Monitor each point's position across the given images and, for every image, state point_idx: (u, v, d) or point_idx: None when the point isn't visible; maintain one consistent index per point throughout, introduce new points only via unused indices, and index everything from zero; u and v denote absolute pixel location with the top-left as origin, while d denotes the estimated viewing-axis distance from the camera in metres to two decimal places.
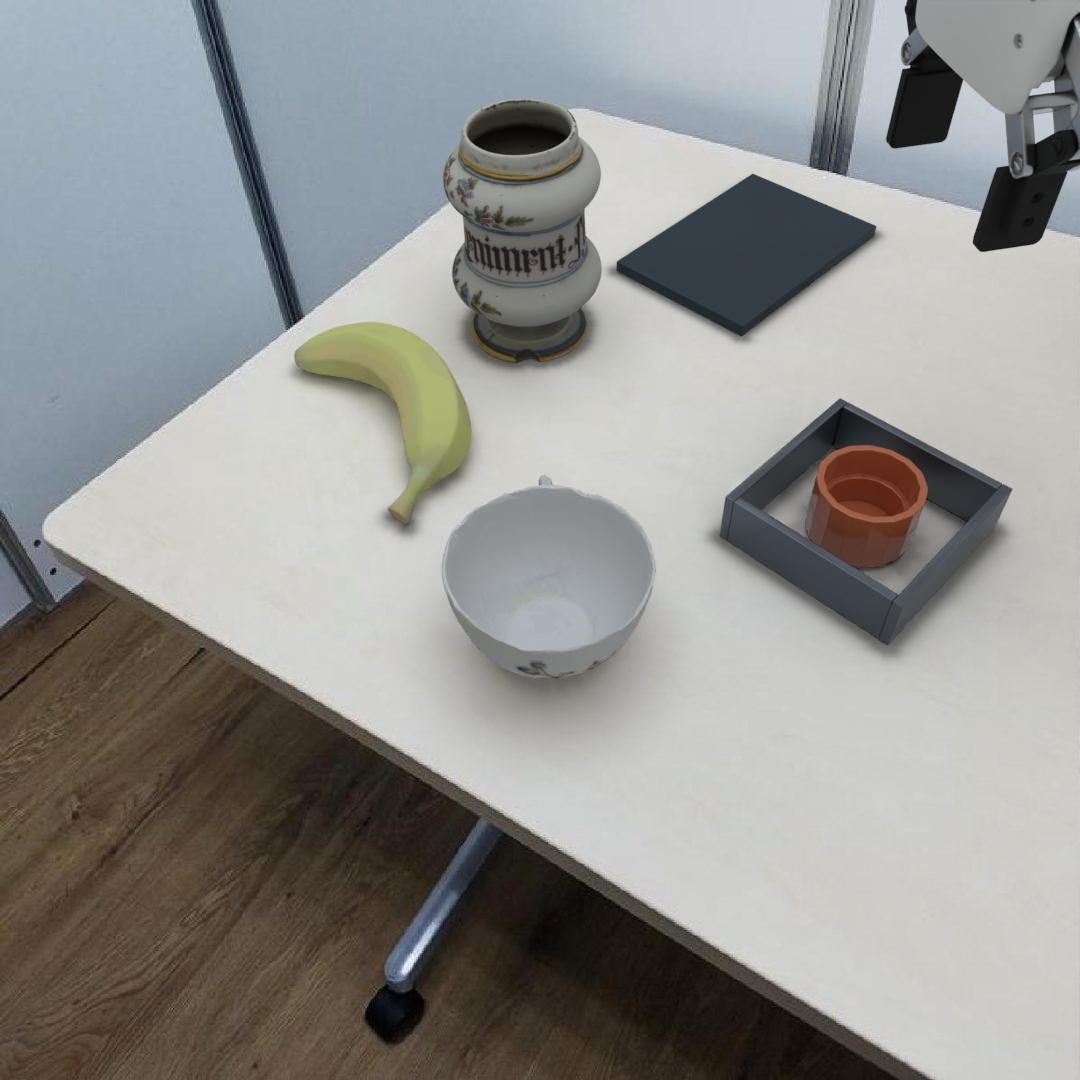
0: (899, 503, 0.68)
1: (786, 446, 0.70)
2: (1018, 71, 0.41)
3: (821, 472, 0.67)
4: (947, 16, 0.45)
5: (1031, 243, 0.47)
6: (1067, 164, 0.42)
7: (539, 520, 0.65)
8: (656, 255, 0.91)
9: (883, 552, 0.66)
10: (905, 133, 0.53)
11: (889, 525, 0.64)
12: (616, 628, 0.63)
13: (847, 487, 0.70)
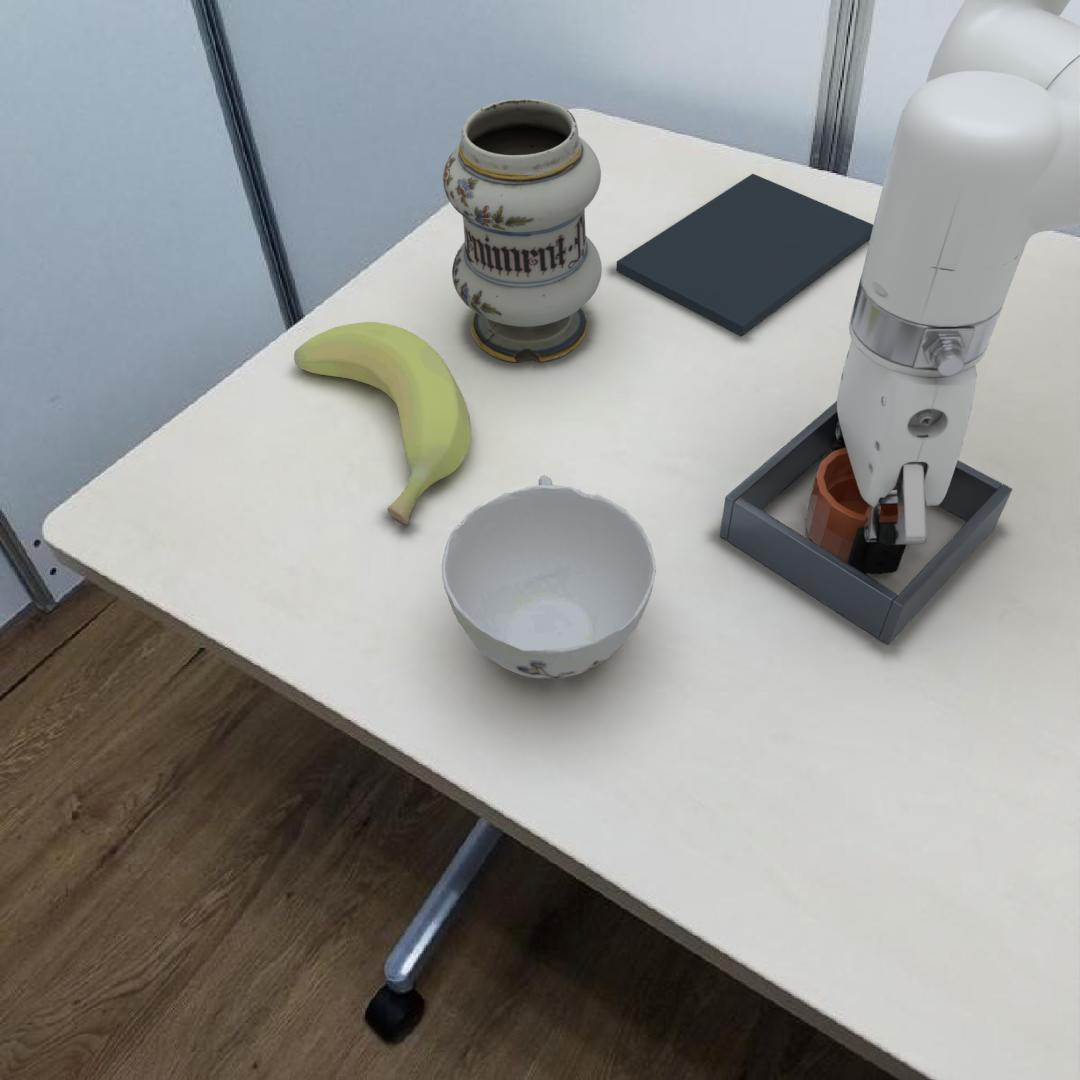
0: None
1: (786, 446, 0.70)
2: (871, 485, 0.60)
3: (821, 472, 0.67)
4: (846, 420, 0.64)
5: (889, 572, 0.67)
6: None
7: (539, 520, 0.65)
8: (656, 255, 0.91)
9: None
10: None
11: None
12: (616, 628, 0.63)
13: (847, 487, 0.70)
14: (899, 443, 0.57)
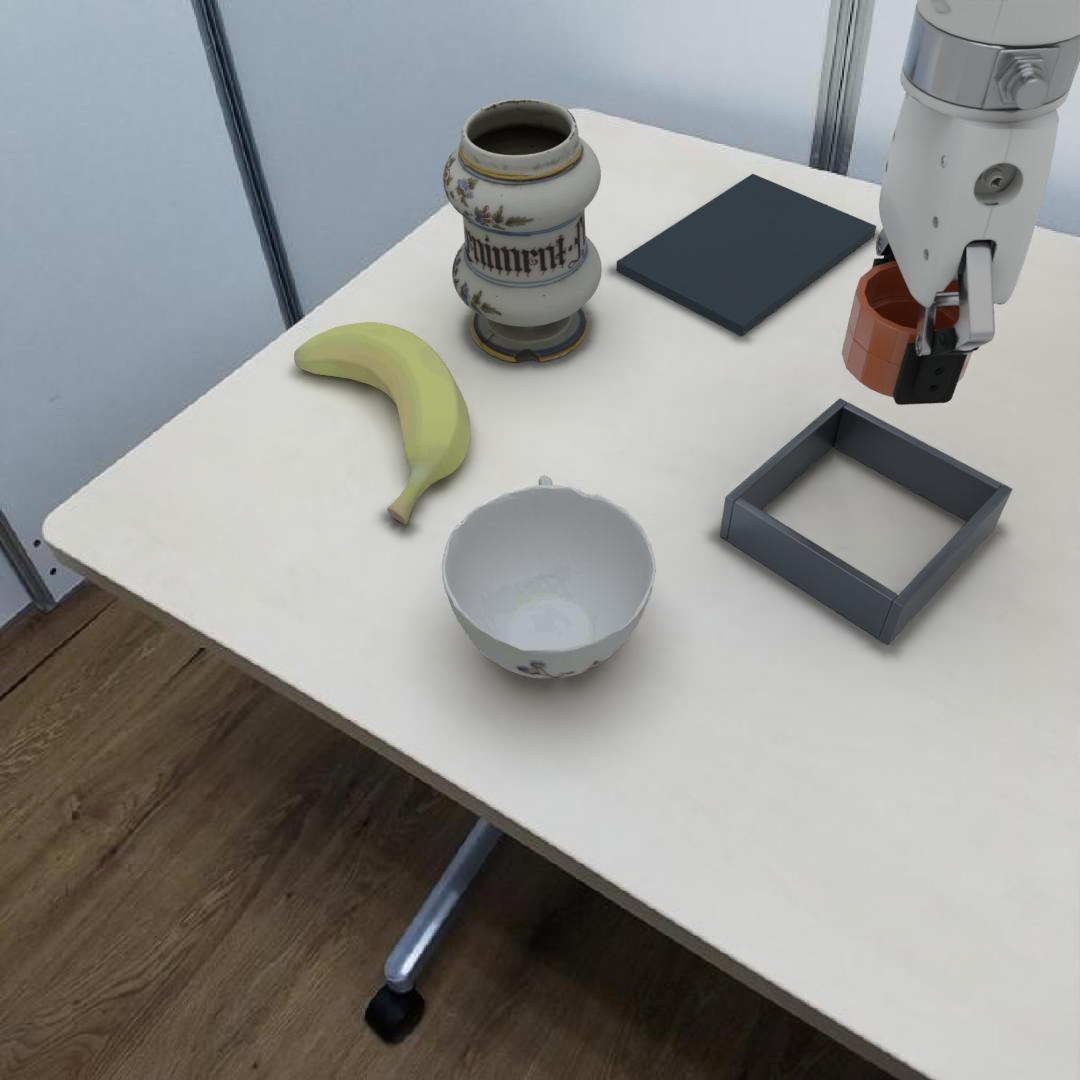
0: (952, 326, 0.59)
1: (786, 446, 0.70)
2: (926, 277, 0.50)
3: (861, 287, 0.57)
4: (892, 215, 0.54)
5: (943, 401, 0.57)
6: (954, 352, 0.52)
7: (539, 520, 0.65)
8: (656, 255, 0.91)
9: None
10: None
11: None
12: (616, 628, 0.63)
13: (889, 314, 0.61)
14: (963, 214, 0.47)
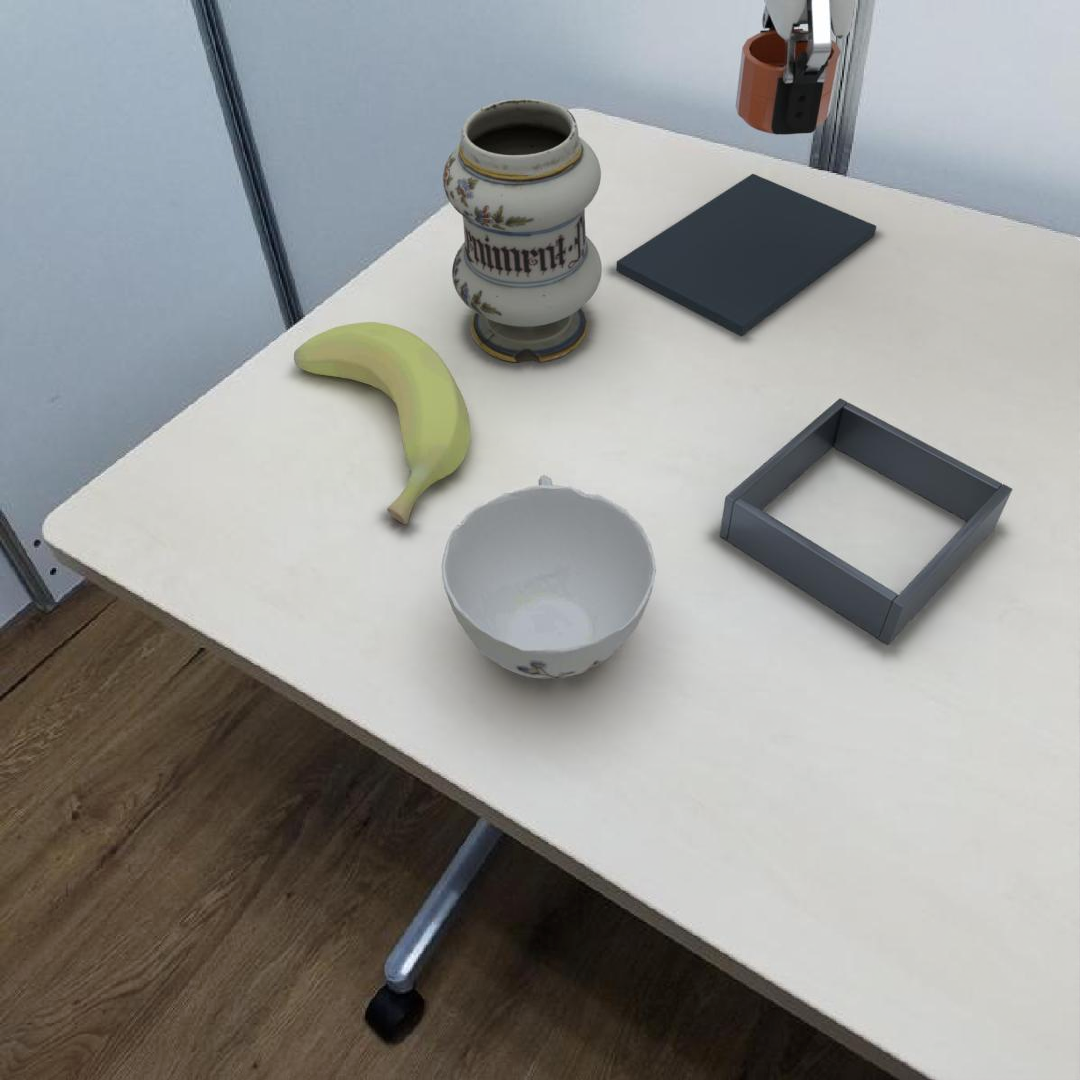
0: None
1: (786, 446, 0.70)
2: (784, 12, 0.68)
3: (747, 45, 0.75)
4: None
5: (809, 132, 0.75)
6: (809, 75, 0.70)
7: (539, 520, 0.65)
8: (656, 255, 0.91)
9: None
10: None
11: None
12: (616, 628, 0.63)
13: None
14: None
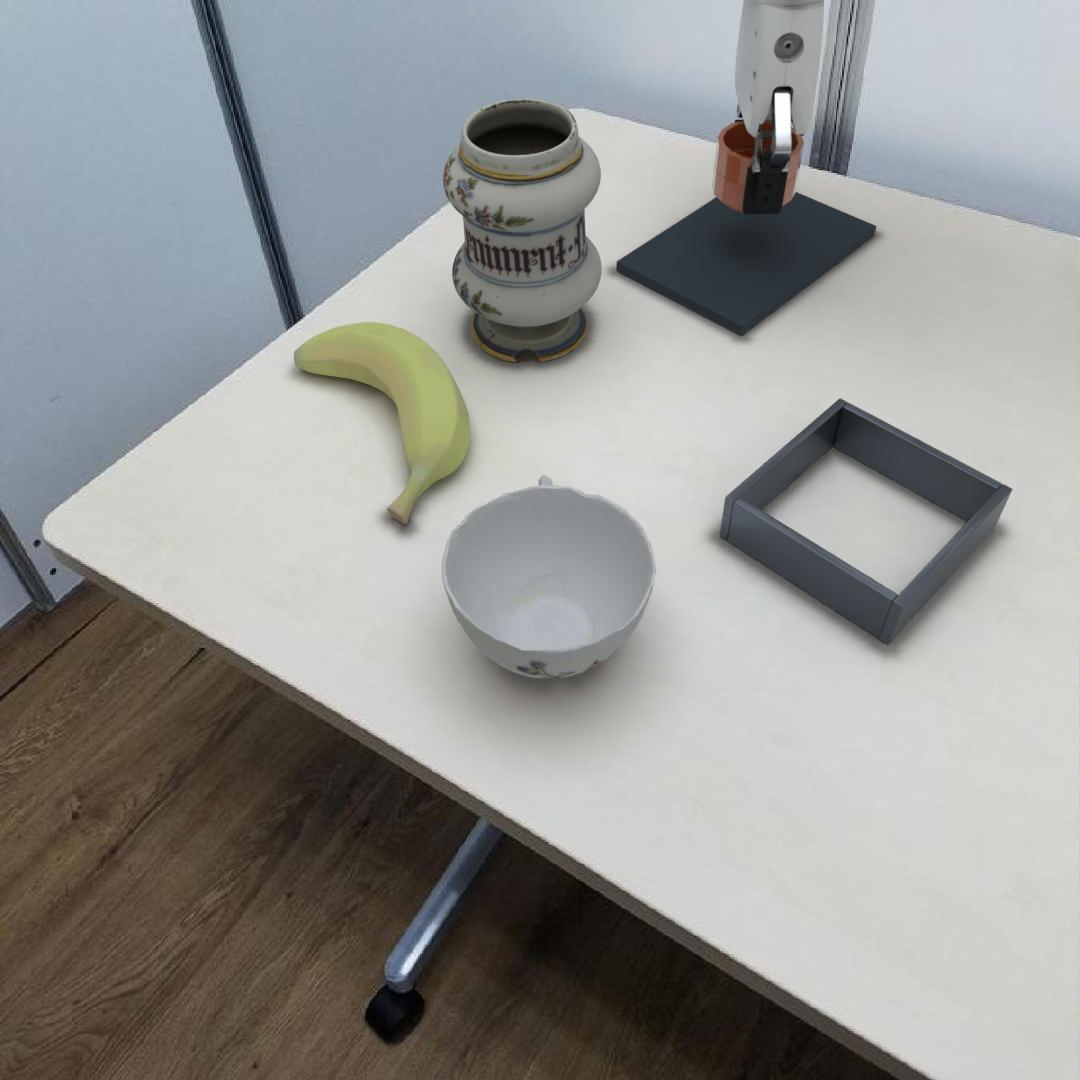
0: None
1: (786, 446, 0.70)
2: (752, 114, 0.78)
3: (721, 134, 0.85)
4: (738, 80, 0.82)
5: (776, 213, 0.85)
6: (774, 168, 0.80)
7: (539, 520, 0.65)
8: (656, 255, 0.91)
9: None
10: None
11: None
12: (616, 628, 0.63)
13: None
14: (769, 67, 0.75)
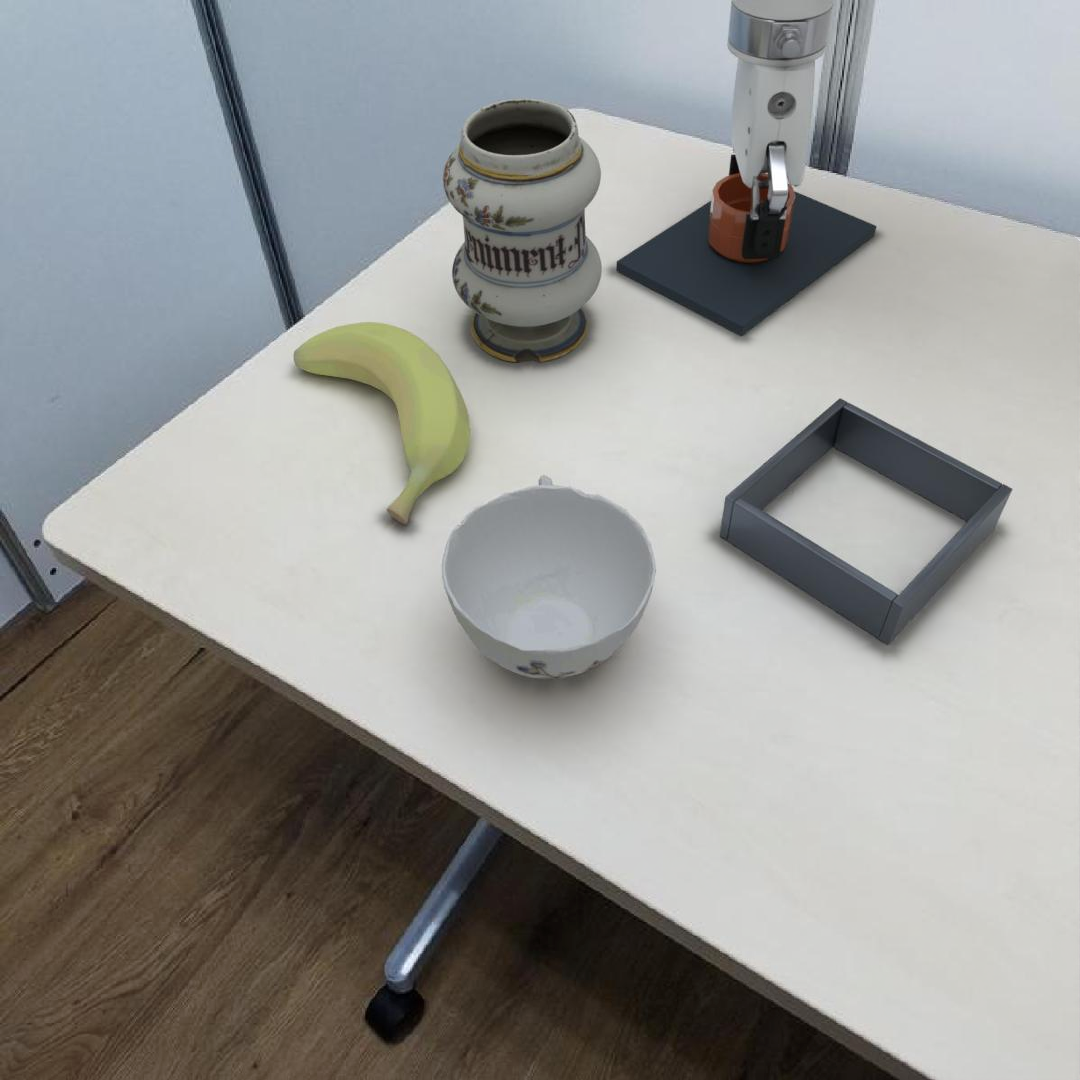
0: None
1: (786, 446, 0.70)
2: (747, 167, 0.81)
3: (716, 188, 0.88)
4: (734, 132, 0.85)
5: (774, 257, 0.87)
6: (771, 216, 0.82)
7: (539, 520, 0.65)
8: (656, 255, 0.91)
9: None
10: None
11: None
12: (616, 628, 0.63)
13: (740, 210, 0.92)
14: (763, 124, 0.78)
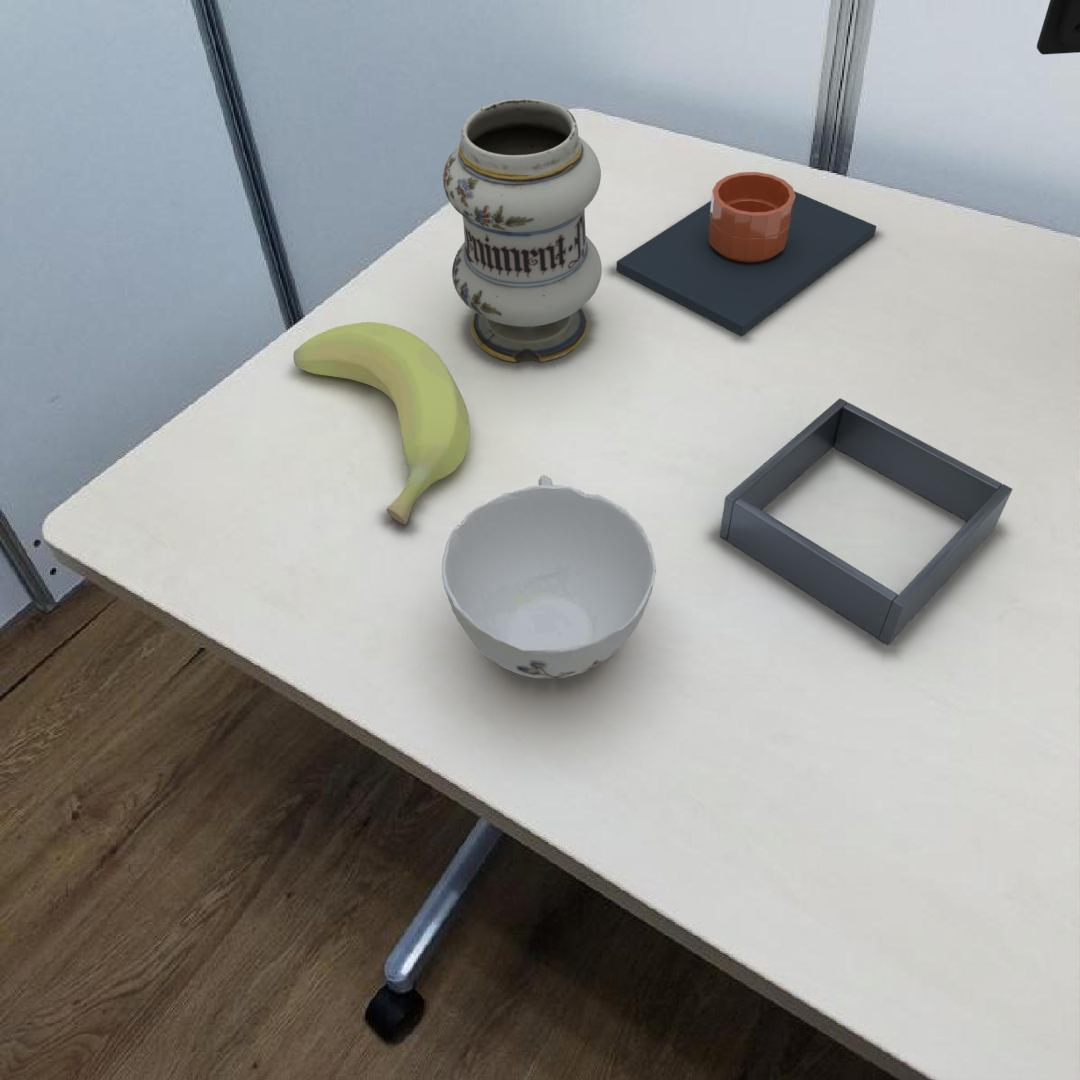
0: None
1: (786, 446, 0.70)
2: None
3: (716, 188, 0.88)
4: None
5: None
6: None
7: (539, 520, 0.65)
8: (656, 255, 0.91)
9: (762, 246, 0.88)
10: None
11: (764, 218, 0.86)
12: (616, 628, 0.63)
13: (740, 210, 0.92)
14: None
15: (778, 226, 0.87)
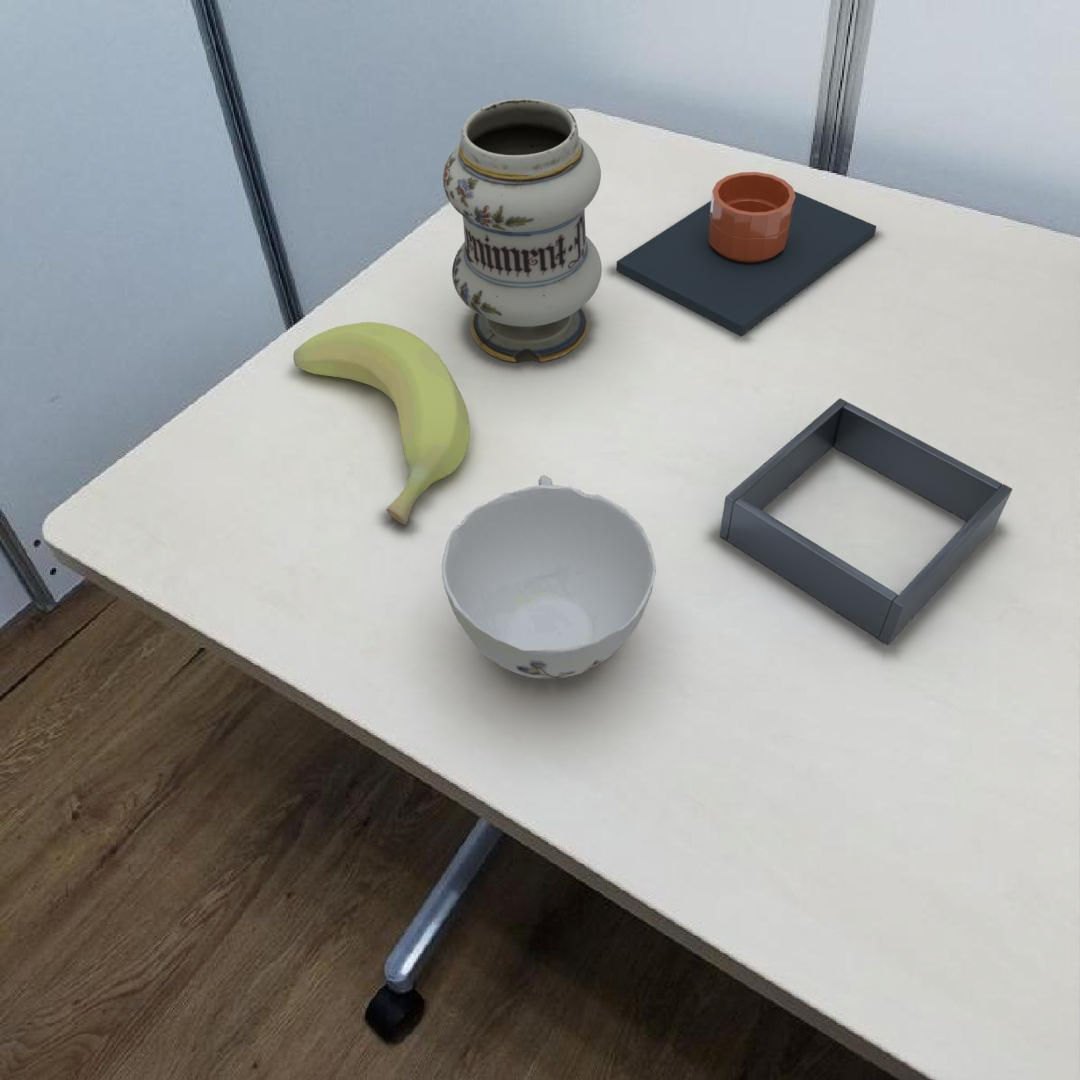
0: None
1: (786, 446, 0.70)
2: None
3: (716, 188, 0.88)
4: None
5: None
6: None
7: (539, 520, 0.65)
8: (656, 255, 0.91)
9: (762, 246, 0.88)
10: None
11: (764, 218, 0.86)
12: (616, 628, 0.63)
13: (740, 210, 0.92)
14: None
15: (778, 226, 0.87)
